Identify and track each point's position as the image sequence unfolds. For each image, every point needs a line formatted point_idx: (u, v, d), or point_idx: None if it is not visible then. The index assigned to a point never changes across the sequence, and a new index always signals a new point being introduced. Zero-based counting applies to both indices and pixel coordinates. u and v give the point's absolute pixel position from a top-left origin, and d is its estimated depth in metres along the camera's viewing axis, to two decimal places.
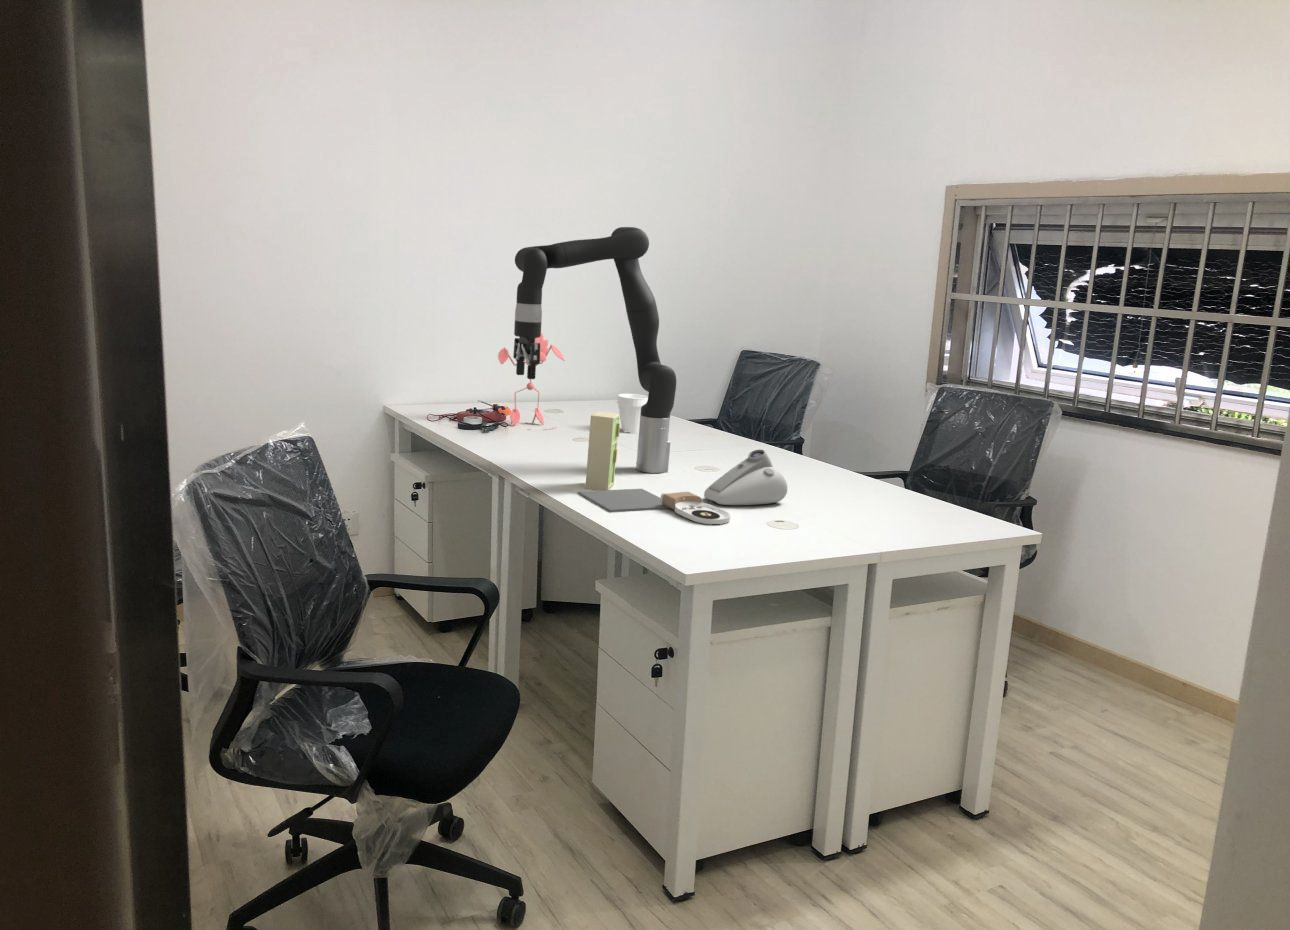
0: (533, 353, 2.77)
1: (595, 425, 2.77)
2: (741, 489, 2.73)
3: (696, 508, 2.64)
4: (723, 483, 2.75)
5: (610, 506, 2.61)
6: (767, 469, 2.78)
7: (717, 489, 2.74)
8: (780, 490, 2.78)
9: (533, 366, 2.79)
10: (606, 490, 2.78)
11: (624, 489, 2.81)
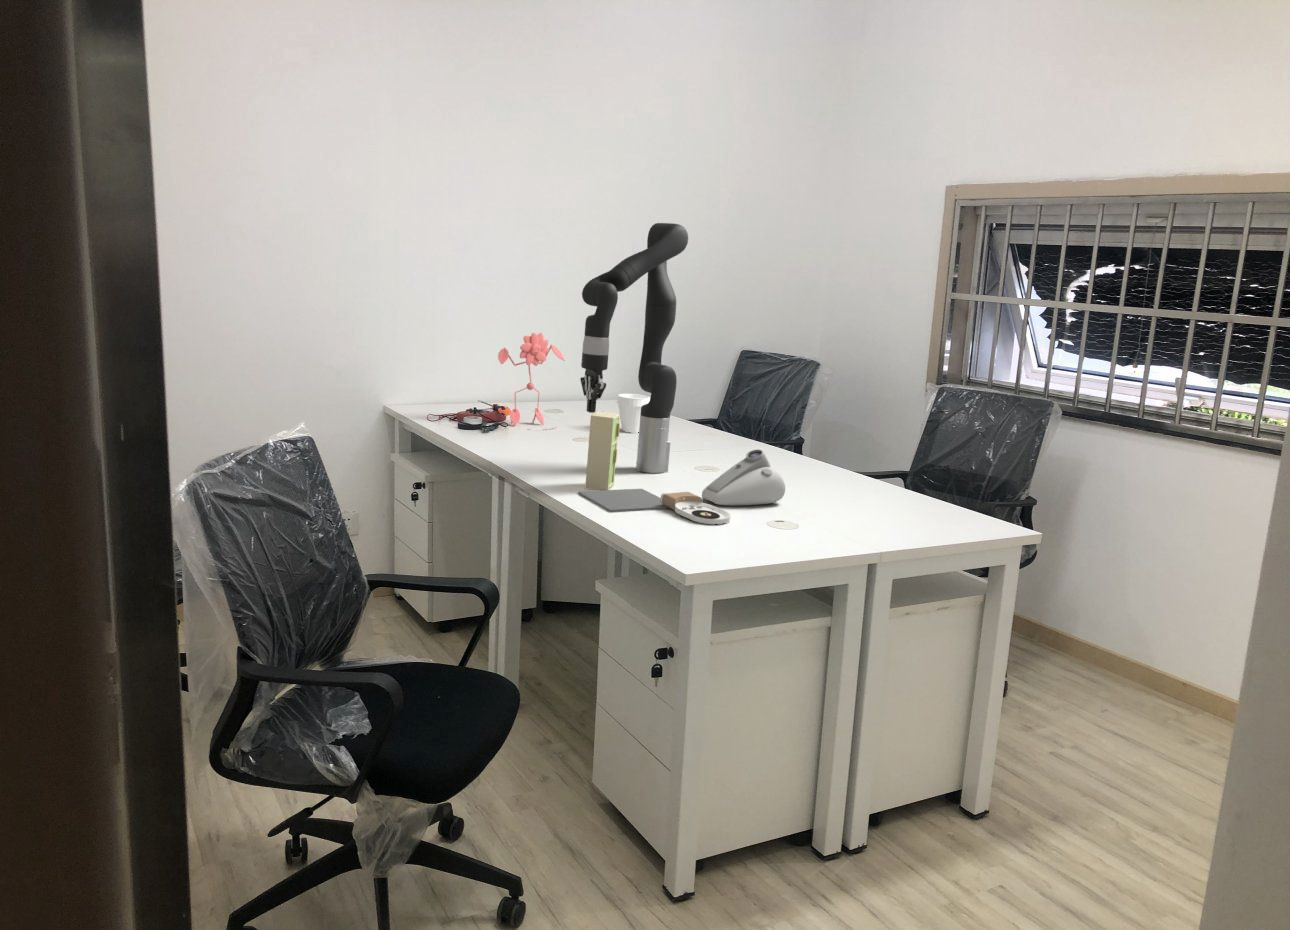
0: (597, 392, 2.83)
1: (595, 425, 2.77)
2: (739, 489, 2.73)
3: (696, 508, 2.64)
4: (721, 484, 2.74)
5: (610, 506, 2.61)
6: (765, 469, 2.78)
7: (715, 489, 2.74)
8: (778, 490, 2.78)
9: (594, 400, 2.87)
10: (606, 490, 2.78)
11: (624, 489, 2.81)
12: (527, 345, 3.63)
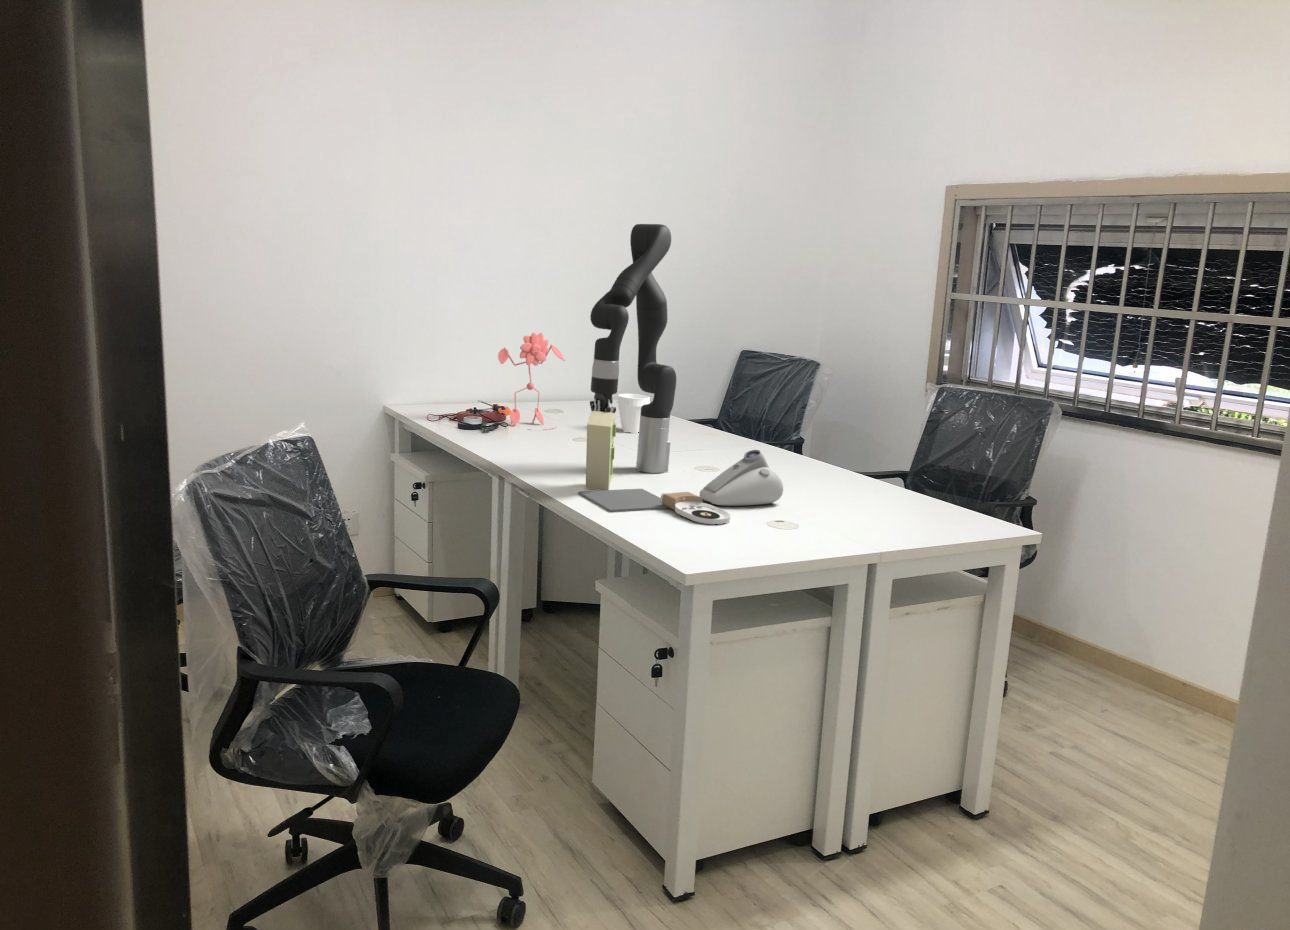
0: None
1: (592, 433, 2.71)
2: (736, 489, 2.72)
3: (696, 508, 2.64)
4: (718, 484, 2.74)
5: (610, 506, 2.61)
6: (763, 469, 2.77)
7: (712, 489, 2.73)
8: (775, 490, 2.77)
9: None
10: (606, 490, 2.78)
11: (624, 489, 2.81)
12: (527, 345, 3.63)
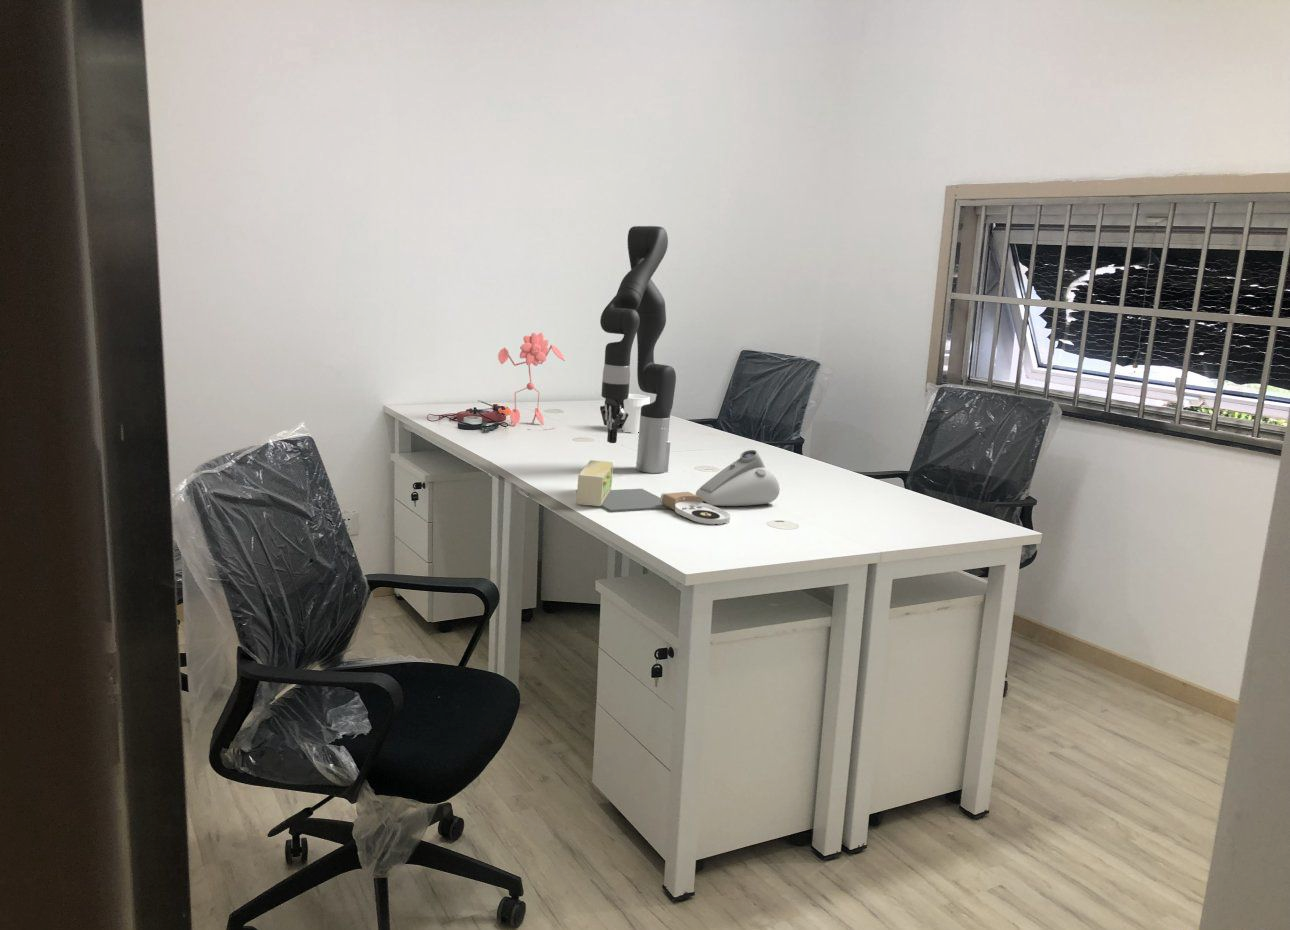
0: (618, 422, 2.73)
1: None
2: (732, 489, 2.72)
3: (696, 508, 2.64)
4: (714, 484, 2.73)
5: (610, 506, 2.61)
6: (759, 470, 2.76)
7: (708, 490, 2.72)
8: (772, 490, 2.76)
9: (615, 430, 2.77)
10: None
11: (624, 489, 2.81)
12: (527, 345, 3.63)
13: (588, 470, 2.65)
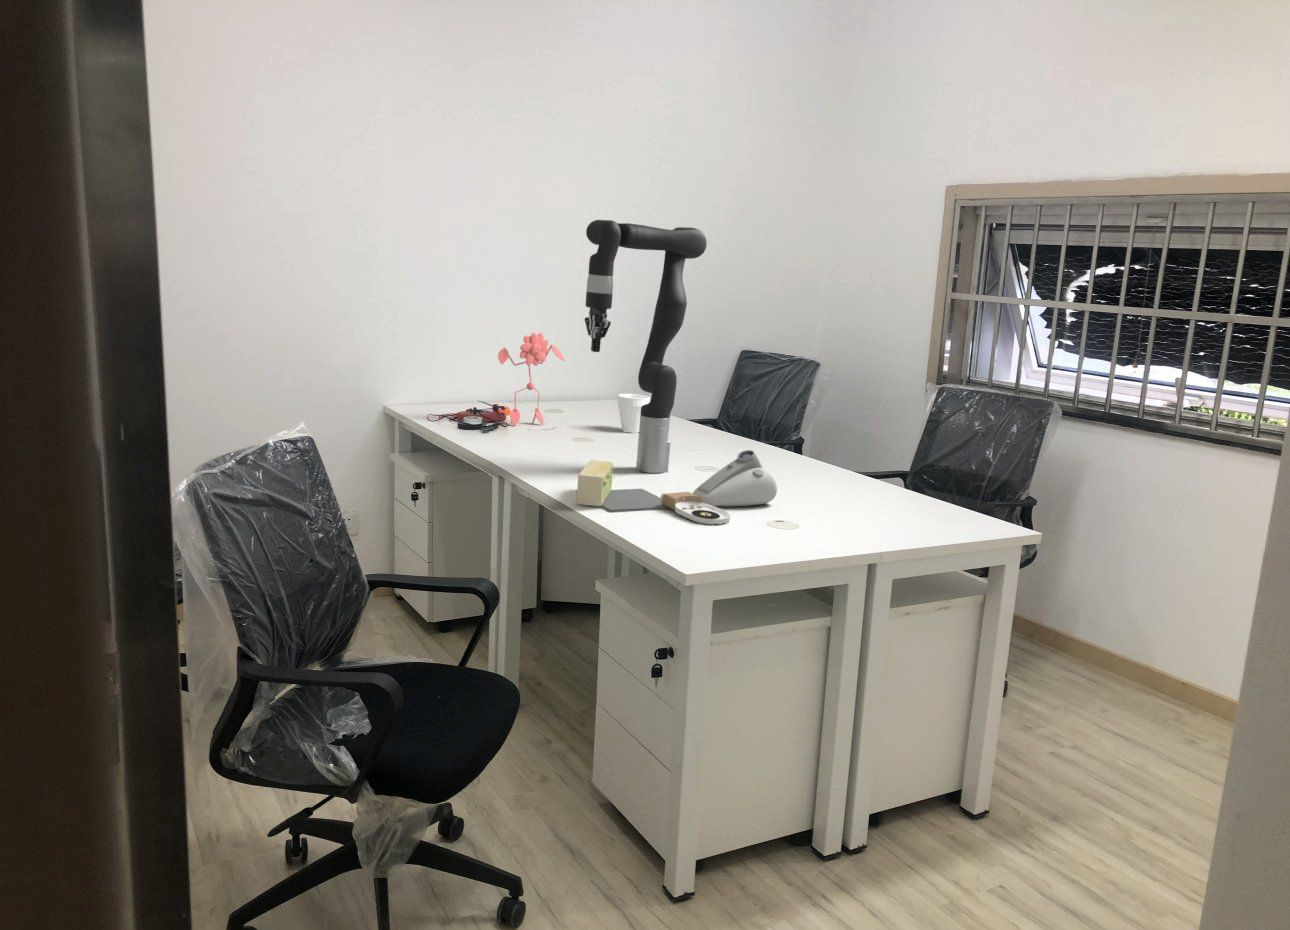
0: (601, 330, 2.84)
1: None
2: (730, 490, 2.71)
3: (696, 508, 2.64)
4: (712, 484, 2.73)
5: (610, 506, 2.61)
6: (756, 470, 2.76)
7: (705, 490, 2.72)
8: (769, 491, 2.76)
9: (598, 339, 2.88)
10: None
11: (624, 489, 2.81)
12: (527, 345, 3.63)
13: (588, 470, 2.65)
